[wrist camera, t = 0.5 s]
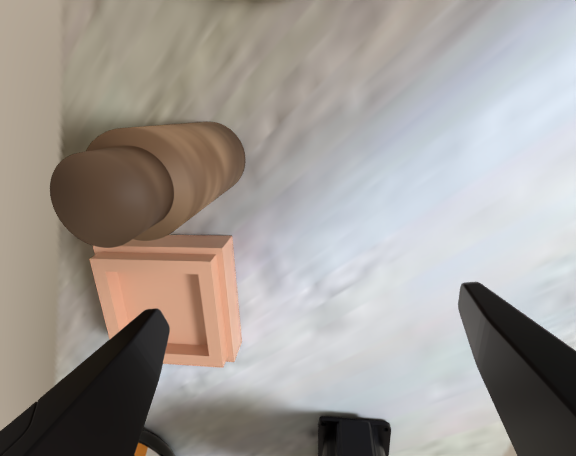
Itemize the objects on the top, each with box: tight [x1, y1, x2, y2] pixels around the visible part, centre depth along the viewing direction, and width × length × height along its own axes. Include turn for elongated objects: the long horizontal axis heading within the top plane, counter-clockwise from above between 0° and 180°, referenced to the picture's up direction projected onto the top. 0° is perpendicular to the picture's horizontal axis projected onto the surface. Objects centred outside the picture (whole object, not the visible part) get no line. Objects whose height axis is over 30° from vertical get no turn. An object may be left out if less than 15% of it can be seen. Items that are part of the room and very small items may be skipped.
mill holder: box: [89, 235, 242, 368], centre depth 26 cm, size 10×10×4 cm
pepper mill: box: [50, 122, 245, 248], centre depth 18 cm, size 5×5×12 cm
